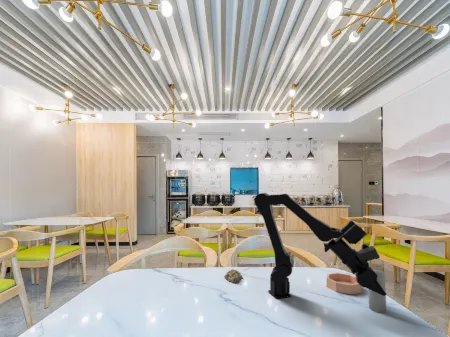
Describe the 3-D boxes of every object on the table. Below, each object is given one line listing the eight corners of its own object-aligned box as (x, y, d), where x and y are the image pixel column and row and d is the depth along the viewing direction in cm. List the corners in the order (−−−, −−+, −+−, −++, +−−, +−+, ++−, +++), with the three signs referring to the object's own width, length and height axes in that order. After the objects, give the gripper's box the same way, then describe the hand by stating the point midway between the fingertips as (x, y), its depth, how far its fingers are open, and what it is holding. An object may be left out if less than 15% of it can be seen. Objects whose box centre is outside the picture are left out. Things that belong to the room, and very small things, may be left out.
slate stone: (378, 313, 82) (377, 274, 83) (365, 306, 86) (364, 270, 87) (389, 311, 83) (388, 273, 84) (376, 304, 88) (375, 268, 89)
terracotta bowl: (343, 295, 95) (343, 286, 95) (320, 283, 107) (320, 274, 107) (368, 291, 99) (368, 282, 99) (343, 279, 111) (343, 271, 111)
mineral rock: (222, 269, 116) (239, 264, 117) (225, 278, 116) (241, 273, 117) (224, 279, 105) (242, 273, 106) (226, 289, 105) (245, 283, 106)
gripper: (368, 244, 79) (411, 284, 75) (358, 233, 97) (392, 265, 92) (341, 266, 81) (381, 307, 77) (336, 252, 99) (368, 284, 94)
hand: (381, 289), depth 85 cm, fingers open, 9 cm apart
